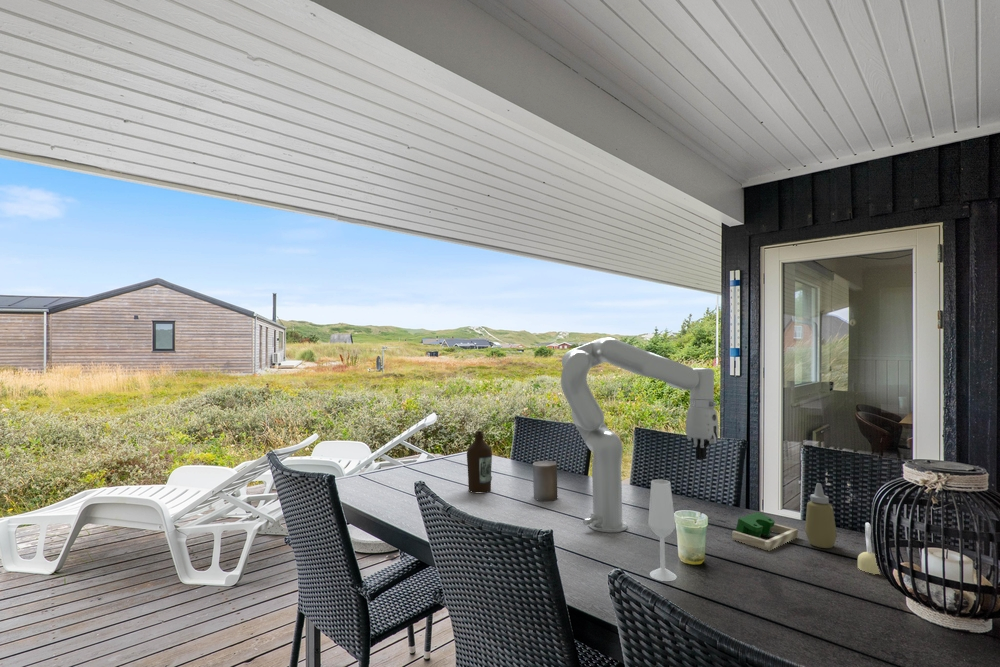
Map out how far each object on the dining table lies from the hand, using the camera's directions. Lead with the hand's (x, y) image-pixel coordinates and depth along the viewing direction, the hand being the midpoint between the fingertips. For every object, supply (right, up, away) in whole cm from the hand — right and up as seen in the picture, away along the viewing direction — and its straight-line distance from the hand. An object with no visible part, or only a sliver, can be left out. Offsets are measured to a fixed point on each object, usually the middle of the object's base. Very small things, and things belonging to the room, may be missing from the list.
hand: (700, 458), depth 171 cm
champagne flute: (-26, -21, -40) cm, 51 cm away
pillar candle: (-50, -24, +31) cm, 63 cm away
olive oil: (-76, -24, +43) cm, 91 cm away
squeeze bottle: (+27, -21, -21) cm, 40 cm away
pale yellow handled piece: (+29, -20, -38) cm, 52 cm away
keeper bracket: (+13, -21, -15) cm, 29 cm away
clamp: (+12, -21, -13) cm, 27 cm away
